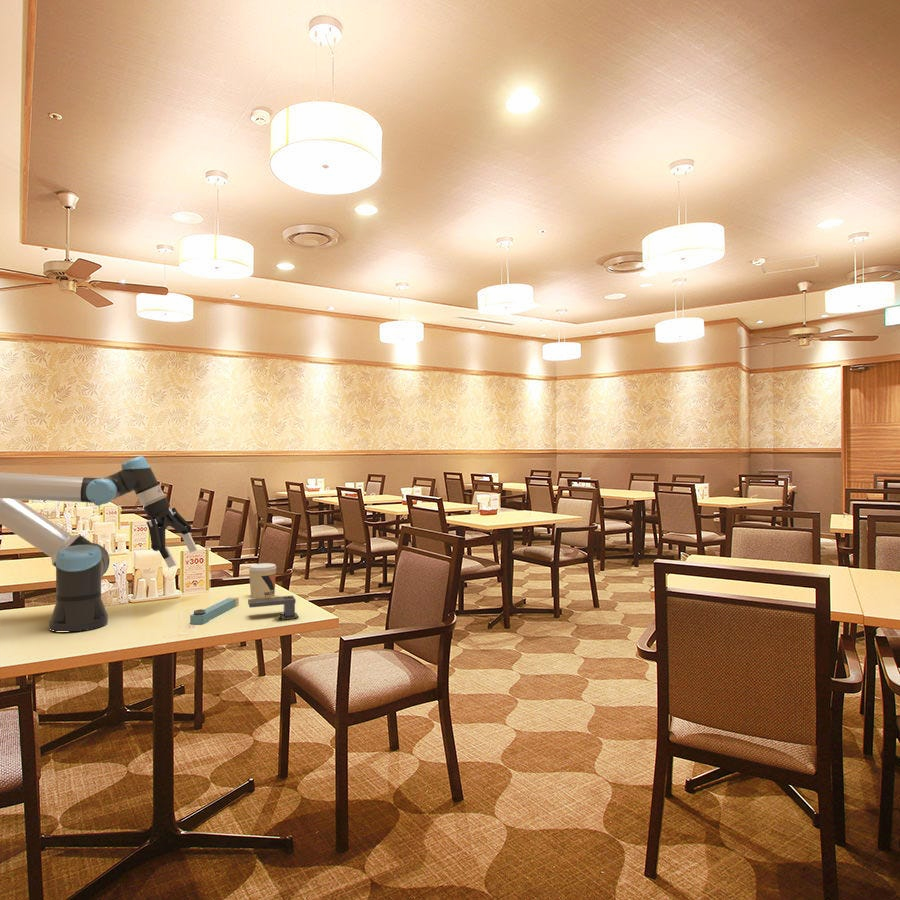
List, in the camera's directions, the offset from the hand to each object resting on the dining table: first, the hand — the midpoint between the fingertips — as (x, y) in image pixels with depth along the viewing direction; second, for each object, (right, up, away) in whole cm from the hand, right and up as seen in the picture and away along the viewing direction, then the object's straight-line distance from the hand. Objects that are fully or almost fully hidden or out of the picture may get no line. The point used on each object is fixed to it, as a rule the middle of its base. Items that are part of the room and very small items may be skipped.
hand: (183, 558), depth 214 cm
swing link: (+16, -15, -14) cm, 26 cm away
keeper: (+34, -16, -16) cm, 41 cm away
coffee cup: (+23, -17, +11) cm, 30 cm away
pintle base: (+15, -16, -24) cm, 33 cm away
